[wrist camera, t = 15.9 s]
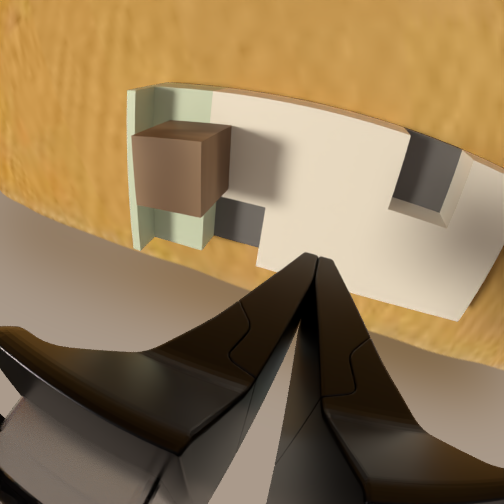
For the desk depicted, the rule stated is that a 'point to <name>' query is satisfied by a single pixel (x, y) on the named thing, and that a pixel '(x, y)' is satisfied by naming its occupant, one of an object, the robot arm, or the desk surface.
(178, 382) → the robot arm
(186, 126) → the walnut block
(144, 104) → the board
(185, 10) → the desk surface
